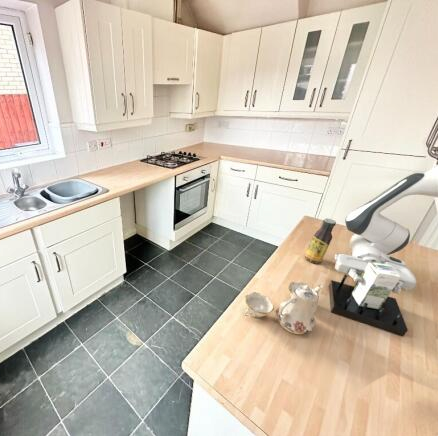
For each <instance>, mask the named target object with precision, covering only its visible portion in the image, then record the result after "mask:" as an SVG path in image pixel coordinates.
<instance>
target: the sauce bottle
mask: <svg viewBox="0 0 438 436" xmlns="http://www.w3.org/2000/svg"><path fill="white" fill-rule="evenodd" d="M336 224H337V221H336V220H334V219H332V218H324V219H323V221H322V224H321V227H320V228H319V229H318V230H317V231H316V232H315V233H314V234H313V236H312V238H311V240H310V242H309V245H308V247H307V249H306V252H305V256H304V258H305V260H306V261H307V262H309V263H312V264H320V263H321V262H322V261H323V259H324V258H325V255H326V253H327V251H328V249H329V247H330V245H331V242H332V240H333V233H332V232H333V229H334V227H335V226H336Z"/></svg>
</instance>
